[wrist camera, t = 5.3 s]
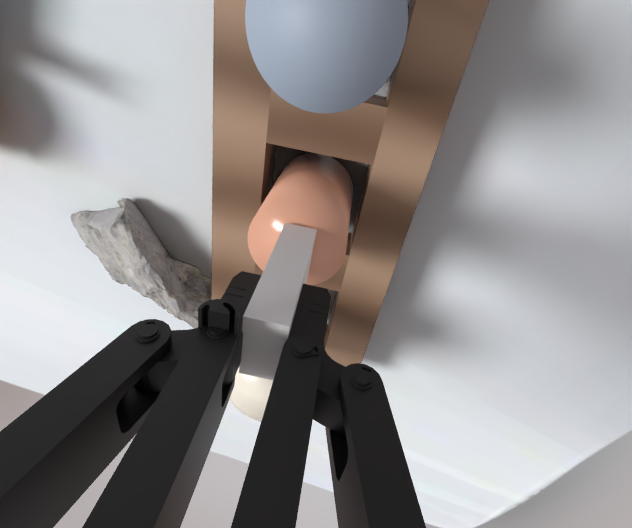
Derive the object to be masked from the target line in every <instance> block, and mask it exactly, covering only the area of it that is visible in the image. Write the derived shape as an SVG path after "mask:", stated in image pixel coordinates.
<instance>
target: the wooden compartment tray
mask: <svg viewBox="0 0 632 528" xmlns="http://www.w3.org/2000/svg"><path fill="white" fill-rule="evenodd" d="M488 2H489V0H411V3H410V7H409V11H408V25H407V33H406V38H405V43H404V46H403V50H402V53H401V56H400V58H399V60H398V62H397V65H396V67H395V68H394V70H393V73H392V77H391V81H390V85H389V89H388V93H387V97H382V96H377V95H373V96H371V97H370V98H369V99H368V100H366V101H365V102H363V103H361V104H360V105H358V106H356V107H353V108H351V109H349V110H345V111H342V112H337V113H314V112H309V111H306V110H302V109H300V108H298V107H295V106H293V105H292V104H290V103H288V102H287V101H285V100H284V99H282V98H281V97H280V96H279V95H277V94H276V93H275V92H274V91H273V90H272V89H271V88H270V86H269V85H268V84H267V82H266V81H265V80H264V79H263V77H262V75H261V74H260V72H259V70H258V69H257V66H256V64H255V62H254V60H253V57H252V54H251V51H250V48H249V44H248V40H247V34H246V26H245V9H246V0H214V58H213V185H212V300H213V299H221V298H222V296H223V294H224V293H225V291H226V289H227V287H228V285H229V284H230V282H231V280H232V278H233V277H234V276H236V275H237V274H239V273H240V272H241V271H244V272H248V273H253V274H258V275H262V273H263V271H262V270H261V269H260V268H259V267H258V265H257V264H256V263H255V261H254V259H253V258H252V256H251V253H250V251H249V247H248V230H249V227H250V224H251V222H252V220H253V218H254V217H255V215H256V213H257V212H258V210H259V208H260V207H261V205H262V204H263V202H264V200H265V199H266V197H267V195H268V194H269V192H270V190H271V189H272V180H273V171H274V161H275V152H276V145H279V146H283V147H288V148H293V149H298V150H303V151H307V152H312V153H317V154H322V155H327V156H331V157H336V158H341V159H346V160H351V161H355V162H360V163H365V164H369V168H368V171H367V175H366V179H365V183H364V187H363V191H362V195H361V199H360V203H359V207H358V211H357V215H356V218H355V222H354V226H353V230H352V233H348V239H347V247H346V254H345V258H344V261H343V263H342V265H341V267H340V268H339V270H338V271H337V272H336V273H335V274H334V275H333V276H332V277H331V278H329V279H328V280H326V281H324V282H322V283H319V284H316V285H312V286H317V287H322V288H326V289H329V290H334V291H337V293H336V297H335V301H334V305H333V309H332V313H331V317H330V320H329V324H328V325H326V331H325V337H324V348H325V351H326V353H327V354H328V356H330V357H331V358H332V359H333V360H334V361H336V362H337V363H339V364H341V365H343V366H345V367H346V366H348V365H350V364H354V363H360V364H361V362H362V359H363V356H364V354H365V351H366V348H367V345H368V342H369V339H370V337H371V334H372V331H373V328H374V325H375V322H376V320H377V317H378V314H379V311H380V308H381V305H382V302H383V300H384V297H385V294H386V291H387V288H388V285H389V283H390V280H391V277H392V274H393V271H394V268H395V266H396V263H397V260H398V257H399V254H400V251H401V249H402V246H403V243H404V240H405V237H406V234H407V232H408V229H409V226H410V223H411V220H412V217H413V215H414V212H415V209H416V206H417V203H418V200H419V198H420V195H421V192H422V189H423V186H424V183H425V181H426V178H427V175H428V172H429V169H430V166H431V164H432V161H433V158H434V155H435V152H436V149H437V147H438V144H439V141H440V138H441V135H442V132H443V130H444V127H445V124H446V121H447V118H448V115H449V113H450V110H451V107H452V104H453V101H454V98H455V96H456V93H457V90H458V87H459V84H460V81H461V79H462V76H463V73H464V70H465V67H466V64H467V62H468V59H469V56H470V53H471V50H472V47H473V45H474V42H475V39H476V36H477V33H478V30H479V28H480V25H481V22H482V19H483V16H484V13H485V11H486V8H487V5H488Z"/></svg>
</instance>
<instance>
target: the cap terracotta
mask: <svg viewBox="0 0 632 528" xmlns="http://www.w3.org/2000/svg"><path fill="white" fill-rule="evenodd" d="M352 197H353V185H352V181H351V178H350V176H349V174H348V172H347V170H346V169H345V168H344V167H343V166H342V165H341V164H340V163H339V162H338V161H337V160H335V159H333V158H332V157H329V156H327V155H322V154H317V153H309V154H304V155H301V156H298V157H296V158H295V159H293V160H292V161H290V162H289V163H288V164H287V165H286V166H285V168H284V169H283V171H282V172H281V174H280V176H279V177H278V179H277V181H276V182H275V184H274V186H273V187H272V189H271V190H270V192H269V194H268V195H267V197H266V199H265V200H264V202H263V204H262V205H261V207H260V208H259V210H258V212H257V213H256V215H255V217H254V218H253V220H252V222H251V224H250V227H249V230H248V247H249V251H250V253H251V256H252V258H253V259H254V261H255V263H256V264H257V265H258V267H259V268H260V269H261V270H262V271H264V269H265V267H266V264H267V262H268V260H269V258H270V255H271V253H272V251H273V249H274V247H275V244H276V242H277V240H278V238H279V235H280V233H281V231H282V229H283V226H284V224H285V223H289V224H294V225H299V226H303V227H308V228H313V229H317V232H316V237H315V242H314V247H313V253H312V258H311V263H310V268H309V273H308V278H307V282H306V284H308V285H316V284H319V283H322V282H324V281H326V280H328V279H329V278H331V277H332V276H333V275H334V274H335V273H336V272H337V271H338V270H339V268H340V267H341V265H342V263H343V261H344V258H345V254H346V247H347V239H348V230H349V222H350V214H351V205H352Z"/></svg>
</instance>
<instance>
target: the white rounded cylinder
mask: <svg viewBox="0 0 632 528" xmlns="http://www.w3.org/2000/svg"><path fill="white" fill-rule="evenodd" d="M272 383H273V380H269V379H264V378H260V377H255V376H251V375H246V374H242V373H239V368H238V370H237V373H236V375H235V384H234V388H233V391H232V393H231V396H230V398H229V399H230V401H231V403H232V404H233V405H234V406H235V407H236V408H237V409H238V410H239V411H240V412H242V413H243V414H245V415H246V416H248V417H250V418H253V419H255V420H258V421H262V418H263V414H264V411H265V408H266V404H267V401H268V397H269V394H270V390H271V387H272Z"/></svg>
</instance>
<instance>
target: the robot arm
mask: <svg viewBox="0 0 632 528" xmlns="http://www.w3.org/2000/svg"><path fill="white" fill-rule="evenodd" d="M316 232H317V229H313V228H308V227H303V226H299V225H294V224H289V223H285V224H284V226H283V229H282V231H281V233H280V235H279V238H278V240H277V242H276V244H275V247H274V249H273V251H272V253H271V255H270V258H269V260H268V262H267V264H266V267H265V269H264V271H263V273H262V275H258V274H253V273H248V272H244V271H241V272H240V273H239V274H237V275H236V276H234V277H233V278H232V280H231V282H230V284H229V285H228V287H227V289H226V291H225V293H224V294H223V296H222V298H221V299H213V300H209V301H206V302H204V303H202V304H201V305H200V306H199V307H198V328H195V329H190V330H174V331H171V329H170V327H169V325H168V324H166V323H165V322H163V321H160V320H156V319H150V320H144V321H140V322H138V323H136V324H134V325H132V326H131V327H130V328H128V329H127V330H126V331H125V332H123V333H122V334H121V335H120V336H118V337H117V338H116V339H115V340H114V341H112V342H111V343H110V344H109V345H107V346H106V347H105V348H104V349H102V350H101V351H100V352H99V353H97V354H96V355H95V356H94V357H92V358H91V359H90V360H89V361H87V362H86V363H85V364H84V365H82V366H81V367H80V368H79V369H77V370H76V371H75V372H74V373H73V374H71V375H70V376H69V377H68V378H66V379H65V380H64V381H63V382H61V383H60V384H59V385H58V386H56V387H55V388H54V389H53V390H51V391H50V392H49V393H48V394H46V395H45V396H44V397H43V398H41V399H40V400H39V401H38V402H36V403H35V404H34V405H33V406H32V407H30V408H29V409H28V410H27V411H25V412H24V413H23V414H22V415H20V416H19V417H18V418H17V419H15V420H14V421H13V422H12V423H10V424H9V425H8V426H7V427H6V428H4V429H3V430H2V431H1V432H0V528H53V527H54V526H55V525H56V524H57V522H58V521H59V520H60V519H61V518H62V517H63V515H65V513H66V512H67V511H68V510H69V509H70V508H71V507H72V505H73V504H74V503H75V502H76V501H77V500H78V499H79V498H80V496H81V495H82V494H83V493H84V492H85V491H86V490H87V489H88V487H89V486H90V485H91V484H92V483H93V482H94V480H96V478H97V477H98V476H99V475H100V474H101V473H102V472H103V470H104V469H105V468H106V467H107V466H108V465H109V463H111V462H112V460H113V459H114V458H115V457H116V456H117V455H118V454H119V452H120V451H121V450H122V449H123V448H124V447H125V446H126V445H127V443H128V442H129V441H130V440H131V439H132V438H133V437H134V435H135V434H136V433H137V434H136V436H135V438H134V439H133V441H132V443H131V444H130V446H129V448H128V450H127V451H126V453H125V455H124V457H123V458H122V460H121V462H120V463H119V465H118V467H117V469H116V471H115V472H114V474H113V475H112V477H111V479H110V481H109V482H108V484H107V486H106V488H105V489H104V491H103V493H102V495H101V496H100V498H99V500H98V501H97V503H96V505H95V507H94V508H93V510H92V512H91V514H90V516H89V517H88V519H87V521H86V522H85V524H84V526H83V527H82V528H180V526H181V523H182V521H183V518H184V516H185V513H186V510H187V508H188V505H189V502H190V500H191V497H192V495H193V492H194V490H195V487H196V484H197V482H198V479H199V476H200V474H201V471H202V469H203V466H204V464H205V461H206V458H207V455H208V453H209V451H210V448H211V445H212V443H213V440H214V438H215V435H216V432H217V430H218V427H219V425H220V422H221V419H222V417H223V414H224V411H225V409H226V406H227V404H228V401H229V398H230V396H231V393H232V391H233V388H234V384H235V375H236V373H237V370H238V368H239V373H242V374H246V375H251V376H255V377H260V378H264V379H269V380H273V383H272V387H271V390H270V394H269V397H268V401H267V404H266V408H265V411H264V414H263V418H262V421H261V425H260V428H259V432H258V435H257V439H256V442H255V446H254V449H253V453H252V456H251V460H250V463H249V467H248V471H247V474H246V477H245V481H244V484H243V488H242V491H241V495H240V498H239V502H238V505H237V509H236V512H235V516H234V519H233V522H232V526H231V528H295V526H296V520H297V513H298V506H299V501H300V494H301V488H302V482H303V476H304V470H305V463H306V457H307V451H308V445H309V438H310V432H311V426H312V419H313V420H315V421H317V422H319V423H320V424H322V425H324V426H325V427H326V435H327V443H328V451H329V458H330V466H331V474H332V481H333V489H334V497H335V504H336V512H337V519H338V526H339V528H426V526H425V523H424V519H423V516H422V513H421V509H420V506H419V503H418V499H417V496H416V493H415V489H414V486H413V482H412V479H411V476H410V472H409V469H408V466H407V462H406V459H405V456H404V452H403V449H402V445H401V442H400V439H399V435H398V432H397V429H396V425H395V422H394V419H393V415H392V412H391V409H390V405H389V402H388V398H387V395H386V392H385V388H384V385H383V382H382V379H381V377H380V375H379V374H378V373H377V372H376V371H375V370H374V369H373V368H371V367H369V366H367V365H365V364H360V363H354V364H350V365H348V366H346V367H345V366H343V365H341V364H339V363H337V362H336V361H334V360H333V359H332V358H331V357H330V356H328V354H327V353H326V351H325V348H324V337H325V331H326V325H327V319H328V312H329V306H330V300H331V297H330V295H329V292H328V290H327V289H326V288H322V287H317V286H312V285H308V284H306V282H307V278H308V273H309V268H310V263H311V258H312V253H313V247H314V242H315V237H316Z"/></svg>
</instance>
